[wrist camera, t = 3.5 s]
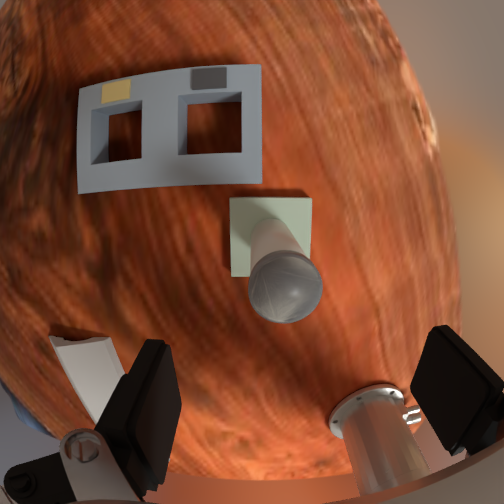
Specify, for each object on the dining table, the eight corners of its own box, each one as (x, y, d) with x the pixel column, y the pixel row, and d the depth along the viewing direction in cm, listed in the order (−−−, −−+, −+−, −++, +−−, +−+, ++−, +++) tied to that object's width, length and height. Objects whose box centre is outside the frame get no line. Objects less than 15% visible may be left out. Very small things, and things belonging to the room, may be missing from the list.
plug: (292, 217, 28) (325, 254, 15) (291, 258, 29) (319, 322, 17) (249, 217, 28) (248, 254, 15) (249, 258, 29) (248, 323, 17)
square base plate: (309, 197, 29) (312, 198, 27) (306, 271, 31) (308, 275, 30) (230, 197, 29) (229, 198, 27) (232, 272, 31) (231, 276, 30)
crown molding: (171, 457, 42) (168, 472, 38) (116, 451, 42) (111, 463, 39) (110, 334, 34) (100, 348, 31) (49, 333, 34) (37, 345, 31)
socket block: (259, 77, 25) (261, 63, 21) (260, 181, 28) (262, 183, 24) (97, 95, 25) (78, 88, 21) (97, 190, 28) (76, 194, 24)
